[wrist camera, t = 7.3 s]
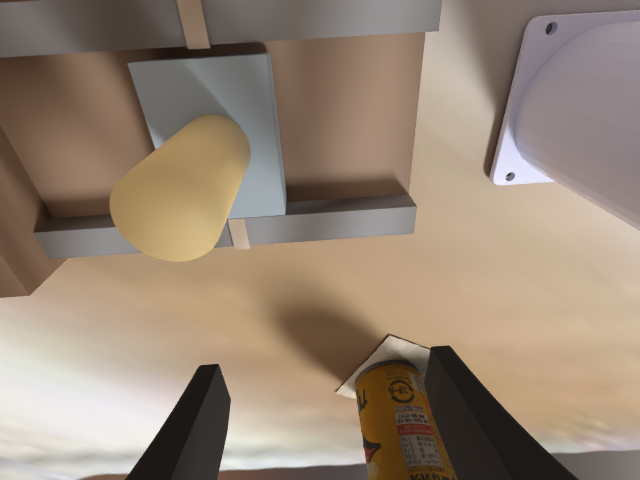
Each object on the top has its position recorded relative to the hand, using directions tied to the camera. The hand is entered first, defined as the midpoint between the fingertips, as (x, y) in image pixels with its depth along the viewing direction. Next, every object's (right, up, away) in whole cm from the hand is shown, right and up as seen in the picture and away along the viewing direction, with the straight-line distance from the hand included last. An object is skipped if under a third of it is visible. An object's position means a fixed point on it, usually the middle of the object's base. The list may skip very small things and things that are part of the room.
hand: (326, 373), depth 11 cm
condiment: (+6, -7, +18) cm, 20 cm away
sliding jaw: (-5, +9, +4) cm, 11 cm away
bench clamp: (-7, +10, +5) cm, 13 cm away
